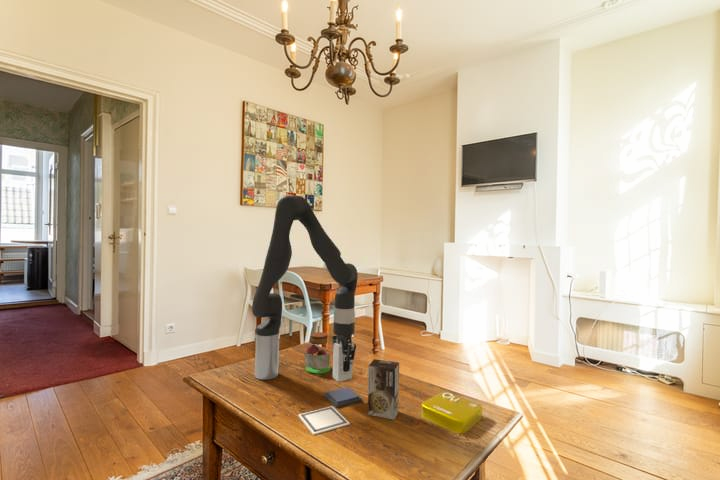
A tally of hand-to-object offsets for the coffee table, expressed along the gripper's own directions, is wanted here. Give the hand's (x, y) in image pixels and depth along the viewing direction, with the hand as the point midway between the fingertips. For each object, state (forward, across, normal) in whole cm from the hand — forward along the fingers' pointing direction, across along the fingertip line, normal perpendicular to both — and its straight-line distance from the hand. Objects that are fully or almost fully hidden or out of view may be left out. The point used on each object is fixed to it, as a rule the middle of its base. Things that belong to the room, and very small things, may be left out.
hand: (343, 368), depth 120 cm
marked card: (+11, +10, -12) cm, 19 cm away
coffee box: (+11, +15, +7) cm, 20 cm away
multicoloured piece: (+11, -29, +3) cm, 31 cm away
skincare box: (+4, 0, 0) cm, 4 cm away
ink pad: (+11, 0, 0) cm, 11 cm away
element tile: (+12, +27, +26) cm, 39 cm away
